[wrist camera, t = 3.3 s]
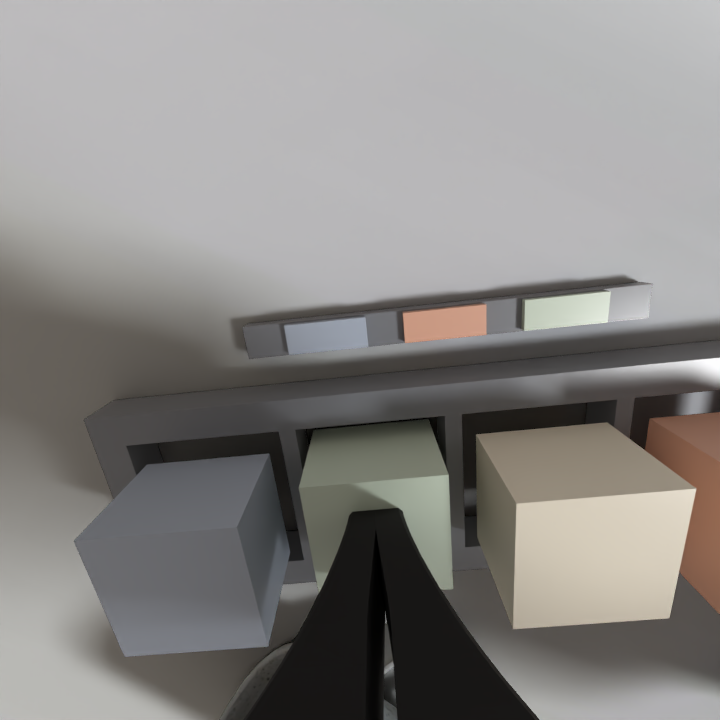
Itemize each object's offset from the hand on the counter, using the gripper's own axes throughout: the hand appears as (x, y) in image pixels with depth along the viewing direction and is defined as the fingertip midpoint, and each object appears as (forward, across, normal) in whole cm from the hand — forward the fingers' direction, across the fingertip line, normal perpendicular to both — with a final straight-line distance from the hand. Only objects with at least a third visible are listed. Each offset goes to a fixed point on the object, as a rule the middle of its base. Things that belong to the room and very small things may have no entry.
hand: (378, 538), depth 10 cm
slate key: (+2, +5, 0) cm, 5 cm away
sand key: (+2, -5, 0) cm, 5 cm away
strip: (+3, -2, -5) cm, 7 cm away
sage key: (+3, 0, 0) cm, 3 cm away
